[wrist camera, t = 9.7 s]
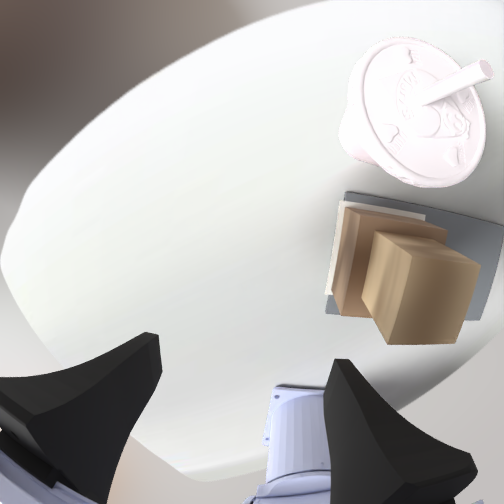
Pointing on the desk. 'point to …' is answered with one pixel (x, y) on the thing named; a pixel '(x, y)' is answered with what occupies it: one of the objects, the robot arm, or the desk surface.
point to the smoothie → (415, 113)
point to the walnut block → (368, 252)
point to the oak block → (418, 289)
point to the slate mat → (458, 238)
